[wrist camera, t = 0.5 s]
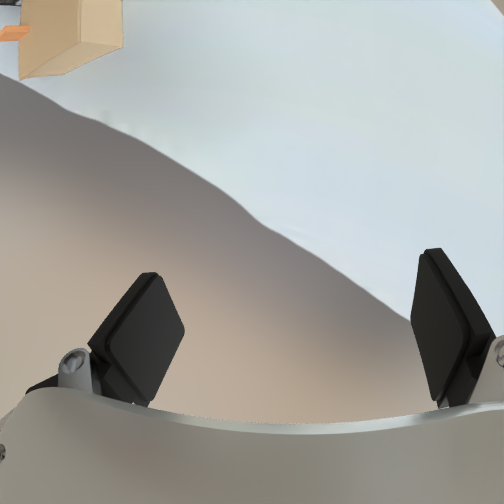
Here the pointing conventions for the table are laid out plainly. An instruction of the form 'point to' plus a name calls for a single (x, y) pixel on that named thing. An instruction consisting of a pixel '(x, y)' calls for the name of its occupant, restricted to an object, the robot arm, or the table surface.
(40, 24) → the flap
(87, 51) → the carton
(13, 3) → the graphics card box
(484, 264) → the table surface
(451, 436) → the robot arm
